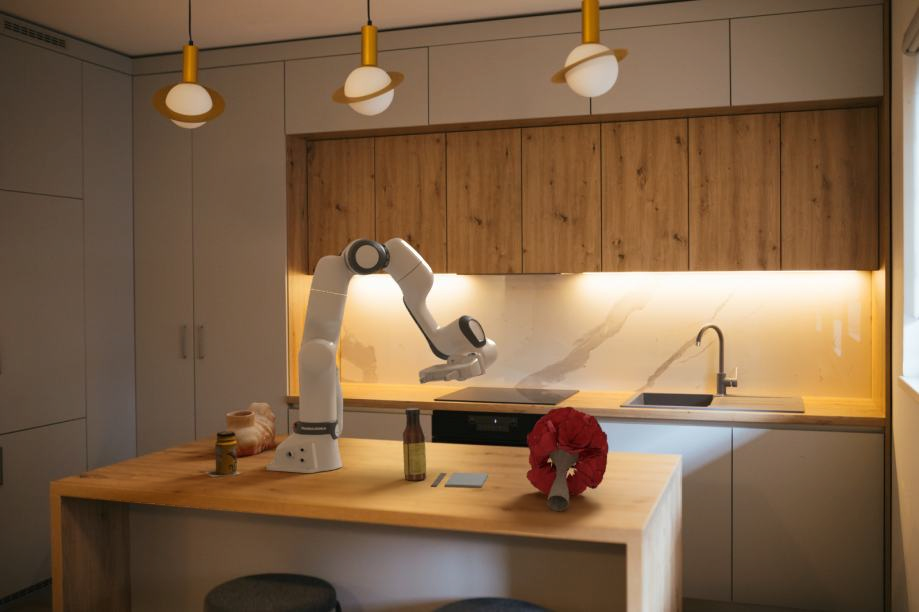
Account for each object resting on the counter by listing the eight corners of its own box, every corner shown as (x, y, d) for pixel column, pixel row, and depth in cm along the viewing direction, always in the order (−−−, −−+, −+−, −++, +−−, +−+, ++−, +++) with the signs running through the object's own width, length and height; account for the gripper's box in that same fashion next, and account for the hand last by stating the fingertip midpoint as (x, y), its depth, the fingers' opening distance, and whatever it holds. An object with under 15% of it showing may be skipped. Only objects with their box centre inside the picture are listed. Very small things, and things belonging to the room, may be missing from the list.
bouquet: (609, 536, 212) (614, 455, 237) (598, 462, 201) (604, 384, 226) (522, 537, 218) (535, 457, 243) (506, 464, 206) (522, 388, 231)
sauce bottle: (430, 478, 247) (430, 408, 247) (417, 482, 242) (417, 410, 242) (411, 475, 251) (411, 406, 250) (398, 479, 246) (398, 409, 245)
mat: (445, 486, 237) (445, 484, 237) (453, 474, 252) (453, 472, 252) (481, 487, 236) (481, 485, 236) (488, 475, 250) (488, 473, 250)
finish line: (431, 486, 237) (431, 485, 237) (441, 473, 253) (441, 472, 253) (436, 486, 237) (436, 485, 237) (446, 473, 253) (446, 472, 253)
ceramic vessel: (286, 444, 302) (285, 400, 302) (251, 459, 276) (250, 411, 276) (249, 442, 305) (248, 399, 305) (211, 457, 280) (210, 410, 279)
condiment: (241, 474, 254) (241, 433, 254) (212, 477, 250) (212, 435, 250) (233, 469, 261) (232, 429, 260) (204, 473, 256) (204, 432, 256)
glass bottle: (307, 441, 306) (307, 361, 305) (330, 437, 313) (330, 359, 313) (325, 445, 299) (324, 363, 298) (348, 441, 307) (348, 361, 306)
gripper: (432, 359, 272) (404, 372, 262) (484, 352, 259) (457, 366, 249) (438, 378, 273) (410, 392, 262) (489, 373, 260) (462, 387, 250)
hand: (433, 380), depth 255 cm, fingers open, 8 cm apart
